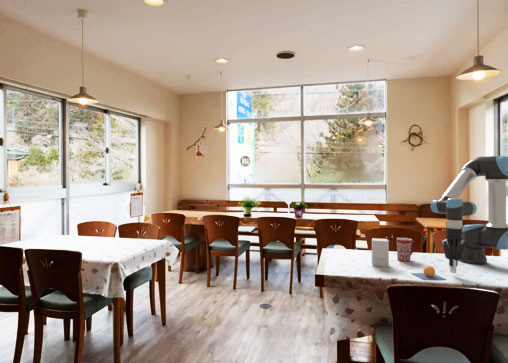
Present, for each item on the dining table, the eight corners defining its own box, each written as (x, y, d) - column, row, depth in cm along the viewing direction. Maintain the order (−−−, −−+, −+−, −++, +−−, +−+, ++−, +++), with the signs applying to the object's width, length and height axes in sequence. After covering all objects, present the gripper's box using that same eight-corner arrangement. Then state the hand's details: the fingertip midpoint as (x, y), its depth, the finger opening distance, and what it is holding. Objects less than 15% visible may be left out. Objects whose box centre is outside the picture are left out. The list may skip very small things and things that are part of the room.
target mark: (432, 273, 195) (432, 272, 195) (446, 279, 183) (446, 279, 183) (411, 273, 194) (411, 273, 194) (423, 280, 182) (423, 279, 182)
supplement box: (387, 263, 216) (387, 238, 216) (388, 267, 207) (389, 241, 207) (371, 262, 218) (371, 237, 218) (372, 266, 210) (372, 240, 209)
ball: (428, 276, 191) (432, 267, 192) (434, 279, 186) (439, 270, 186) (419, 272, 191) (424, 263, 191) (425, 275, 185) (430, 265, 185)
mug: (402, 262, 219) (402, 240, 219) (392, 259, 228) (393, 237, 228) (419, 261, 223) (420, 239, 222) (409, 258, 231) (410, 237, 231)
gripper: (460, 226, 194) (459, 270, 195) (438, 226, 193) (437, 270, 193) (470, 228, 187) (469, 274, 187) (447, 228, 185) (446, 274, 186)
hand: (453, 272), depth 190 cm, fingers closed
